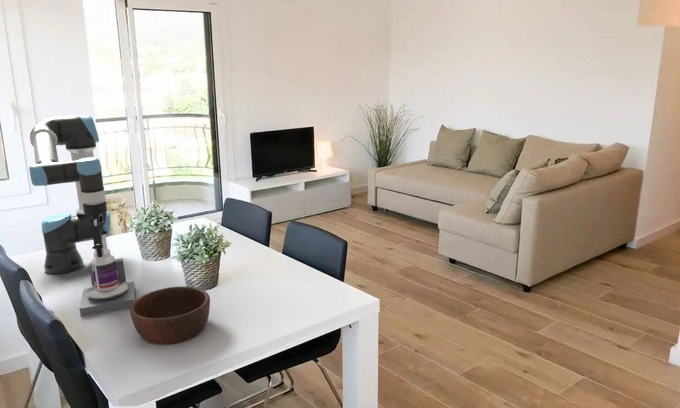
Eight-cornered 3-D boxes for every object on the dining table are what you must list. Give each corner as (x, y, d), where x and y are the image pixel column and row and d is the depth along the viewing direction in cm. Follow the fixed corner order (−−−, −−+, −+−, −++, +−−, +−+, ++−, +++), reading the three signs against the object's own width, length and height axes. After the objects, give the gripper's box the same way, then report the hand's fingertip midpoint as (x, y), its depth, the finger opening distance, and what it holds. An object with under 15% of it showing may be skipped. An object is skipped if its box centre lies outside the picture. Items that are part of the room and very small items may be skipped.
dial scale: (85, 292, 207) (80, 263, 204) (135, 285, 213) (131, 257, 210) (80, 316, 188) (75, 284, 185) (135, 307, 194) (130, 276, 191)
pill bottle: (123, 285, 200) (118, 248, 197) (108, 293, 193) (102, 256, 189) (106, 282, 203) (101, 246, 199) (90, 291, 196) (84, 253, 192)
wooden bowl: (219, 311, 189) (216, 284, 187) (203, 348, 165) (200, 318, 163) (147, 313, 189) (144, 286, 186) (121, 351, 165) (117, 321, 162)
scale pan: (89, 289, 203) (88, 284, 202) (128, 283, 207) (127, 278, 207) (85, 304, 190) (85, 299, 189) (128, 298, 194) (127, 292, 194)
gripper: (85, 194, 199) (93, 248, 205) (79, 212, 177) (88, 272, 183) (107, 192, 202) (114, 245, 208) (104, 210, 179) (112, 269, 185)
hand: (102, 258), depth 195 cm, fingers open, 13 cm apart
